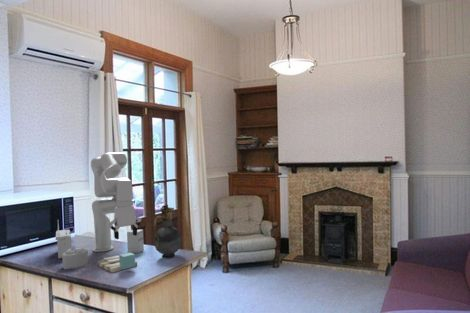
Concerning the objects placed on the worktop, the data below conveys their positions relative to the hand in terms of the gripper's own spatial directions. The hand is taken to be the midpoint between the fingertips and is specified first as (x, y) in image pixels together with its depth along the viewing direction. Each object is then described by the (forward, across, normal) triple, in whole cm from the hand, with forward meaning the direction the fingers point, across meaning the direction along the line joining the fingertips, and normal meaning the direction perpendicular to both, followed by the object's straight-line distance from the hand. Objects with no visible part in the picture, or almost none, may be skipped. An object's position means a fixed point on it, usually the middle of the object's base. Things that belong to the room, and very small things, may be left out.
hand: (126, 237), depth 187 cm
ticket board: (+17, 0, -12) cm, 21 cm away
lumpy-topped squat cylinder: (+18, +16, -30) cm, 39 cm away
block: (+15, 0, +1) cm, 15 cm away
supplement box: (+18, -20, -30) cm, 40 cm away
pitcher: (+18, -26, -4) cm, 32 cm away
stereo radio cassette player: (+18, +13, -58) cm, 63 cm away
